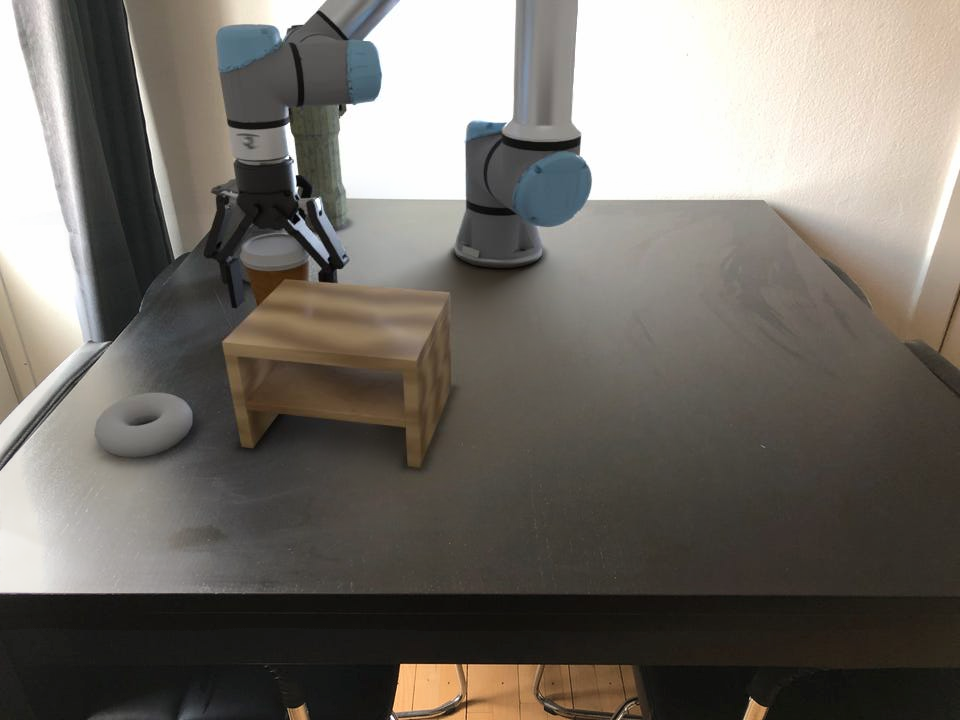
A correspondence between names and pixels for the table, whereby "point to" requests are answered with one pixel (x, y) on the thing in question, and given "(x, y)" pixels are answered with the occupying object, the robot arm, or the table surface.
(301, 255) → the disposable coffee cup
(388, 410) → the shelf
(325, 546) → the table surface
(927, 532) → the table surface
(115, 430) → the donut
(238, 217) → the coffeepot
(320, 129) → the thermos
